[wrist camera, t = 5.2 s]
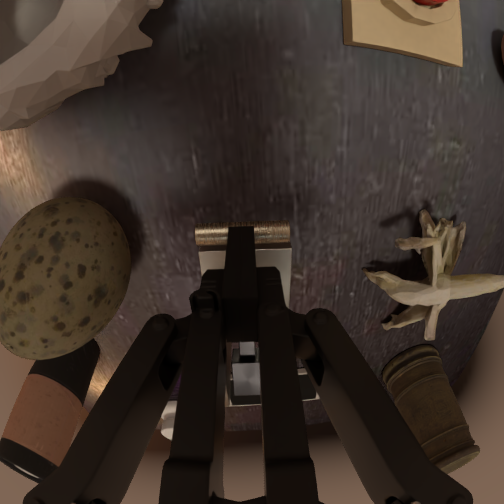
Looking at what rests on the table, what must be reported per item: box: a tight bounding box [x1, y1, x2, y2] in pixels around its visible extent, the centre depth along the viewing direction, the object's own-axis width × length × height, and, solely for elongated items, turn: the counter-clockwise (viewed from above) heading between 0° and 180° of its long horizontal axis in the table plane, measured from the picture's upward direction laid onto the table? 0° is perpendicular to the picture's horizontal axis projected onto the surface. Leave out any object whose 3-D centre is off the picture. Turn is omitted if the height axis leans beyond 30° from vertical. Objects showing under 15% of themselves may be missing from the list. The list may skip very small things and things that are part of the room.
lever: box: [195, 220, 290, 396], centre depth 21 cm, size 12×6×2 cm, turn 2°
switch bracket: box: [198, 242, 292, 407], centre depth 25 cm, size 10×8×12 cm
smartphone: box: [230, 368, 320, 406], centre depth 38 cm, size 7×15×1 cm, turn 95°
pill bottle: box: [161, 375, 181, 440], centre depth 32 cm, size 5×5×10 cm
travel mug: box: [0, 338, 100, 483], centre depth 26 cm, size 8×8×20 cm
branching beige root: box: [362, 209, 504, 340], centre depth 26 cm, size 9×16×15 cm
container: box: [383, 345, 480, 474], centre depth 30 cm, size 9×9×18 cm
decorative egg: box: [0, 197, 131, 360], centre depth 20 cm, size 11×11×15 cm
